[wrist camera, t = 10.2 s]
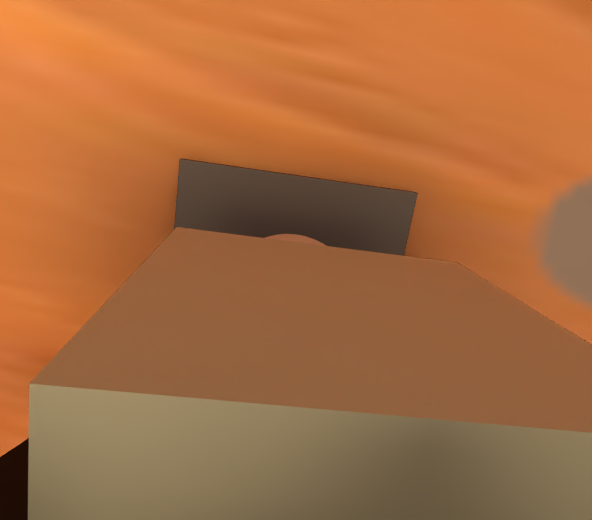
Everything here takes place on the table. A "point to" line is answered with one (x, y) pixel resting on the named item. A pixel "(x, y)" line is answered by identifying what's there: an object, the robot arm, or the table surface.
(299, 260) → the beige cuboid
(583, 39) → the table surface
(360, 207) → the thin dark grey panel
